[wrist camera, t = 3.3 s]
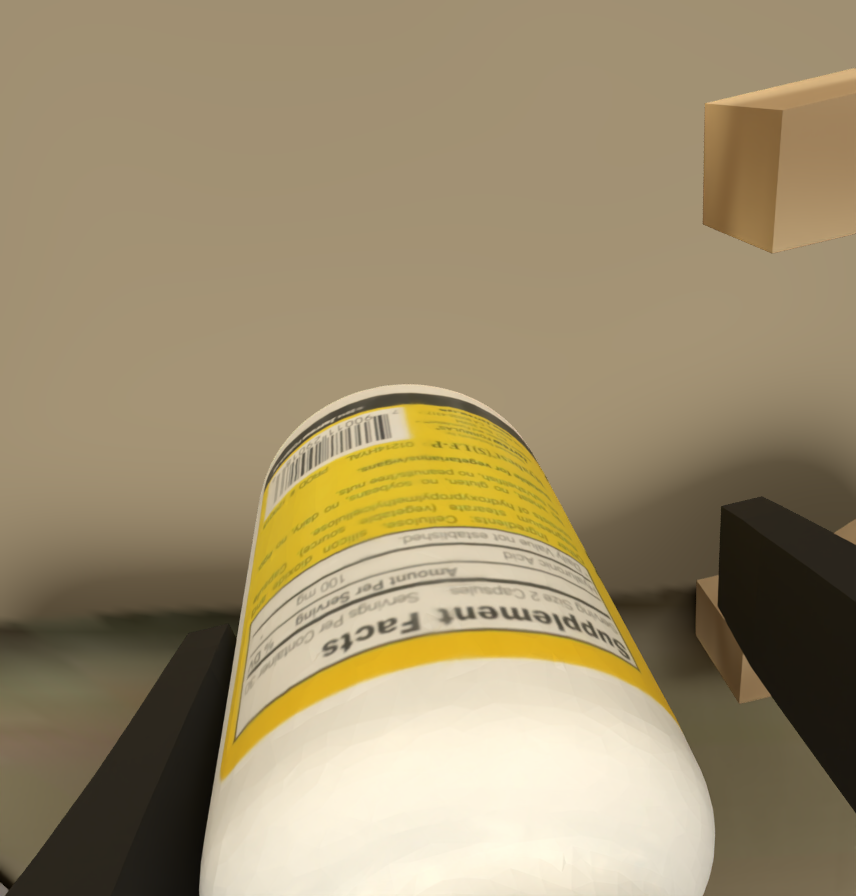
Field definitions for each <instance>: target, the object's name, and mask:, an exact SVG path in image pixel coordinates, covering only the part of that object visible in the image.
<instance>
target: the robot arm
mask: <svg viewBox="0 0 856 896" xmlns="http://www.w3.org/2000/svg"><path fill="white" fill-rule="evenodd" d="M717 606H718V608H719V610H720V612H721V613H722V615H723V617H724V619H725V621H726V623H727V625H728V627H729V629H730V630H731V632H732V634H733V636H734V638H735V640H736V642H737V643H738V645H739V647H740V649H741V650H742V652H743V654H744V656H745V657H746V659H747V661H748V663H749V664H750V666H751V668H752V669H753V671H754V672H755V673H756V675H757V676H758V678H759V679H760V681H761V682H762V684H763V685H764V686H765V688H766V689H767V691H768V692H769V693H770V695H771V696H772V698H773V699H774V700H775V702H776V703H777V705H778V706H779V707H780V709H781V710H782V712H783V713H784V714H785V716H786V717H787V719H788V720H789V721H790V723H791V724H792V725H793V727H794V728H795V730H796V731H797V732H798V734H799V735H800V737H801V738H802V739H803V741H804V742H805V743H806V745H807V746H808V748H809V749H810V750H811V752H812V753H813V755H814V756H815V757H816V759H817V760H818V761H819V763H820V764H821V766H822V767H823V768H824V770H825V771H826V772H827V774H828V775H829V777H830V778H831V779H832V781H833V782H834V784H835V785H836V786H837V788H838V789H839V790H840V792H841V793H842V795H843V796H844V797H845V799H846V800H847V802H848V803H849V804H850V806H851V807H852V808H853V810H854V811H855V813H856V545H855V544H853V543H852V542H850V541H848V540H846V539H844V538H842V537H840V536H838V535H836V534H834V533H832V532H830V531H829V530H827V529H825V528H823V527H821V526H819V525H817V524H815V523H813V522H811V521H809V520H808V519H805V518H804V517H802V516H800V515H798V514H796V513H794V512H792V511H790V510H788V509H786V508H784V507H782V506H780V505H778V504H776V503H774V502H772V501H770V500H768V499H766V498H764V497H758V498H753V499H750V500H745V501H741V502H737V503H732V504H728V505H724V506H721V527H720V553H719V579H718V604H717ZM236 641H237V639H236V637H235V635H234V633H233V631H232V629H231V627H230V625H229V624H225V625H221V626H217V627H212V628H208V629H204V630H200V631H196V632H191V633H188V635H187V636H186V638H185V639H184V641H183V642H182V644H181V645H180V647H179V648H178V650H177V651H176V653H175V654H174V656H173V657H172V659H171V660H170V662H169V663H168V665H167V666H166V668H165V669H164V671H163V672H162V674H161V676H160V677H159V679H158V680H157V682H156V683H155V685H154V686H153V688H152V689H151V691H150V693H149V694H148V696H147V697H146V699H145V700H144V702H143V703H142V705H141V706H140V708H139V709H138V711H137V713H136V714H135V716H134V717H133V719H132V720H131V722H130V723H129V725H128V726H127V728H126V729H125V731H124V732H123V734H122V735H121V737H120V738H119V740H118V741H117V743H116V744H115V746H114V747H113V749H112V750H111V752H110V753H109V754H108V756H107V757H106V759H105V760H104V762H103V763H102V765H101V766H100V768H99V769H98V771H97V772H96V774H95V775H94V777H93V778H92V779H91V781H90V782H89V784H88V785H87V786H86V788H85V789H84V791H83V792H82V793H81V795H80V796H79V797H78V799H77V800H76V802H75V803H74V804H73V806H72V807H71V808H70V810H69V811H68V813H67V814H66V815H65V817H64V818H63V819H62V821H61V822H60V824H59V825H58V826H57V828H56V829H55V830H54V832H53V833H52V835H51V836H50V837H49V839H48V840H47V842H46V843H45V844H44V846H43V847H42V848H41V850H40V851H39V852H38V854H37V855H36V856H35V858H34V859H33V860H32V862H31V863H30V864H29V865H28V867H27V868H26V869H25V871H24V872H23V873H22V874H21V876H20V877H19V878H18V880H17V881H16V882H15V883H14V885H13V886H12V887H11V888H10V890H8V889H7V888H6V887H5V886H4V885H3V884H2V883H1V882H0V896H200V895H199V884H200V869H201V859H202V852H203V845H204V839H205V832H206V826H207V820H208V814H209V808H210V802H211V796H212V790H213V784H214V778H215V772H216V766H217V760H218V754H219V748H220V742H221V736H222V729H223V723H224V717H225V711H226V704H227V698H228V692H229V685H230V679H231V673H232V666H233V660H234V654H235V648H236Z"/></svg>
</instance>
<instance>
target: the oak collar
mask: <svg viewBox="0 0 856 896" xmlns="http://www.w3.org/2000/svg"><path fill="white" fill-rule="evenodd" d="M703 187H704V188H703V189H704V190H703V225H706V226H708V227H710V228H713V229H715V230H718V231H720V232H722V233H725V234H727V235H730V236H732V237H735V238H737V239H739V240H741V241H744V242H746V243H749V244H751V245H754V246H756V247H758V248H761V249H763V250H765V251H767V252H770V253H777V252H781V251H785V250H789V249H794V248H798V247H802V246H806V245H811V244H814V243H819V242H823V241H827V240H832V239H836V238H840V237H844V236H849V235H853V234H856V68H853V69H848V70H844V71H840V72H836V73H831V74H827V75H823V76H819V77H814V78H810V79H806V80H802V81H797V82H793V83H789V84H785V85H781V86H776V87H772V88H768V89H764V90H759V91H755V92H751V93H747V94H743V95H738V96H734V97H730V98H726V99H721V100H717V101H713V102H709V103H705V132H704V186H703ZM834 534H836V535H838V536H840V537H842V538H844V539H846V540H848V541H850V542H852V543H853V544H855V545H856V519H855V520H853V521H852V522H850V523H848V524H847V525H845V526H844V527H842V528H841V529H839V530H837V531H836V532H835V533H834ZM718 579H719V575H716V576H712V577H708V578H703V579H699V580H697V581H696V636H697V638H698V639H699V641H700V643H701V644H702V646H703V647H704V649H705V651H706V652H707V654H708V655H709V657H710V658H711V660H712V662H713V663H714V665H715V666H716V668H717V669H718V671H719V673H720V674H721V676H722V677H723V679H724V680H725V682H726V684H727V685H728V687H729V688H730V690H731V692H732V693H733V695H734V696H735V698H736V699H737V701H738V703H739V704H741V703H745V702H749V701H753V700H757V699H762V698H766V697H770V696H771V695H770V693H769V692H768V691H767V689H766V688H765V686H764V685H763V684H762V682H761V681H760V679H759V678H758V676H757V675H756V673H755V672H754V671H753V669H752V668H751V666H750V664H749V663H748V661H747V659H746V657H745V656H744V654H743V652H742V650H741V649H740V647H739V645H738V643H737V642H736V640H735V638H734V636H733V634H732V632H731V630H730V629H729V627H728V625H727V623H726V621H725V619H724V617H723V615H722V613H721V612H720V610H719V608H718V606H717V604H718Z"/></svg>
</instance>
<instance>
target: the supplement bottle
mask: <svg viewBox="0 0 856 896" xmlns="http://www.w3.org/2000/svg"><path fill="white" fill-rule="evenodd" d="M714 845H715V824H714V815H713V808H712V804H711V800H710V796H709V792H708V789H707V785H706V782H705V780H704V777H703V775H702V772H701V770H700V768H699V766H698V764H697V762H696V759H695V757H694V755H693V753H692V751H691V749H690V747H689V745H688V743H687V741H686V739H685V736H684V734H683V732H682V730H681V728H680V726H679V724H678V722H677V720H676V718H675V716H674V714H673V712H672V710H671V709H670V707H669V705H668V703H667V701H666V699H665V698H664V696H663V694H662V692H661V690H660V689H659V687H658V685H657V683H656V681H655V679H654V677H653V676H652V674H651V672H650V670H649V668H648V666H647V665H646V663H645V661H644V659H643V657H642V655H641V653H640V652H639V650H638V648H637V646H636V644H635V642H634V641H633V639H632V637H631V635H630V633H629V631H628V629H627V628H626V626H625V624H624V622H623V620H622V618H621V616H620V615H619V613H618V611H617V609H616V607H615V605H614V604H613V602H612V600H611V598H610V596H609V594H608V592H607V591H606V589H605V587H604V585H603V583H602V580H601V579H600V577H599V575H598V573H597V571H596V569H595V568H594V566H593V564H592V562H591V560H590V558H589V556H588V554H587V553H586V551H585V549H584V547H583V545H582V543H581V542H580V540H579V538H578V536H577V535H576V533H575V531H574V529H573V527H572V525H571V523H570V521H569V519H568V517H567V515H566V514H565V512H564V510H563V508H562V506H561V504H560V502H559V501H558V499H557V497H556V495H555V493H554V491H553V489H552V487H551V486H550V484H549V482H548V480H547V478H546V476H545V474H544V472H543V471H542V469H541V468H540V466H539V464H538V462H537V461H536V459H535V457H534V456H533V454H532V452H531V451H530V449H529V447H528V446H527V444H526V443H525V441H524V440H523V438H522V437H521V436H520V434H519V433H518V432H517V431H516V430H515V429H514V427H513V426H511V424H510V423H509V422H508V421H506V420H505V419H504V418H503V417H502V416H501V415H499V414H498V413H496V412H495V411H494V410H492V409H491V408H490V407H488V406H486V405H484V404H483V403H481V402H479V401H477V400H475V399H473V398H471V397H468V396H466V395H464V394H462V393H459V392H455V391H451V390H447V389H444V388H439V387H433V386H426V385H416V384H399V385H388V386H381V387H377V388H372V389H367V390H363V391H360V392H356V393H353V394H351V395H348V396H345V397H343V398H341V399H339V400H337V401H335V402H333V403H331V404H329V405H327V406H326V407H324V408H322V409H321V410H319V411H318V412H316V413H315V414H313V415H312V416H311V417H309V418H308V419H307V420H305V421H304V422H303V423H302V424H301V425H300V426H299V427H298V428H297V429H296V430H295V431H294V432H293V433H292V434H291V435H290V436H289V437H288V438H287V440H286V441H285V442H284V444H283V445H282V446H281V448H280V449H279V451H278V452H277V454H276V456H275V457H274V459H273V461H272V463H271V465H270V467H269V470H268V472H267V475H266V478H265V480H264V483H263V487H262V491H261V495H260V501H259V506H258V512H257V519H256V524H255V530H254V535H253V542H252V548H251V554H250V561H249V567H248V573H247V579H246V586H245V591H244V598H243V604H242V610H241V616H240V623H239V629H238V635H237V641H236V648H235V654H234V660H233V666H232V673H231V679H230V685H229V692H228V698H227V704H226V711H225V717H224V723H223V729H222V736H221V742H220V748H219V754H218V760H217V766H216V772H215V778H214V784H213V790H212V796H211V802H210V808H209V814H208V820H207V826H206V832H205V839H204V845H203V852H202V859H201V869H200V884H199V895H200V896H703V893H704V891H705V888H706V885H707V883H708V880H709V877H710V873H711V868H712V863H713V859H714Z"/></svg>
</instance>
